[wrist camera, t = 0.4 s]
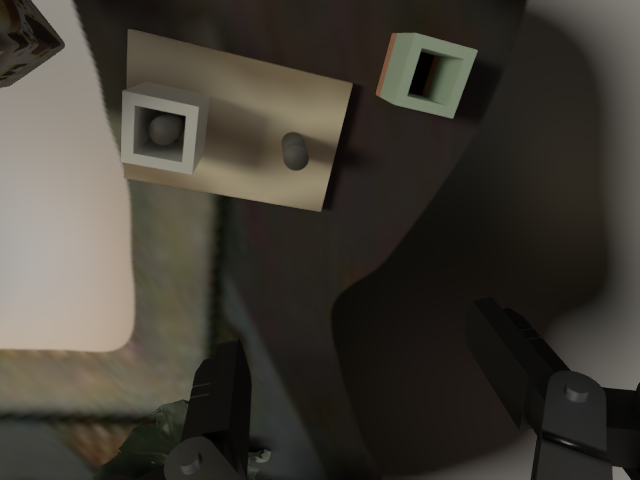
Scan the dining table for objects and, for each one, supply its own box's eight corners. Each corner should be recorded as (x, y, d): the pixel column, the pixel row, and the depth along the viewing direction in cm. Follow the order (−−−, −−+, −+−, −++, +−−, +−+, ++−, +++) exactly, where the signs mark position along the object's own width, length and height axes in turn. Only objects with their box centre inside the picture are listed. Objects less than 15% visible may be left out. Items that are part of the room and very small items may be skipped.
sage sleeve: (392, 33, 34) (415, 32, 29) (445, 48, 35) (477, 50, 30) (375, 94, 36) (393, 104, 31) (426, 106, 37) (453, 118, 32)
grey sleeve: (146, 81, 32) (122, 90, 27) (210, 95, 33) (198, 106, 28) (143, 142, 34) (120, 161, 29) (203, 153, 35) (192, 174, 30)
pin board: (132, 29, 32) (103, 27, 26) (350, 82, 35) (365, 90, 30) (128, 173, 37) (103, 198, 31) (319, 207, 40) (327, 234, 35)
